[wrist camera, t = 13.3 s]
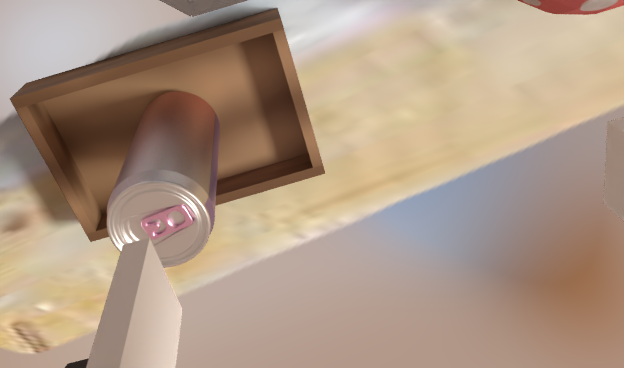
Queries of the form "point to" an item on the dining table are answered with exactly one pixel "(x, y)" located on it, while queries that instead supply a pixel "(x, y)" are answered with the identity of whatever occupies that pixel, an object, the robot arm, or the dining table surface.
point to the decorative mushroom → (574, 6)
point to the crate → (170, 78)
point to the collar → (199, 5)
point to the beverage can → (168, 179)
